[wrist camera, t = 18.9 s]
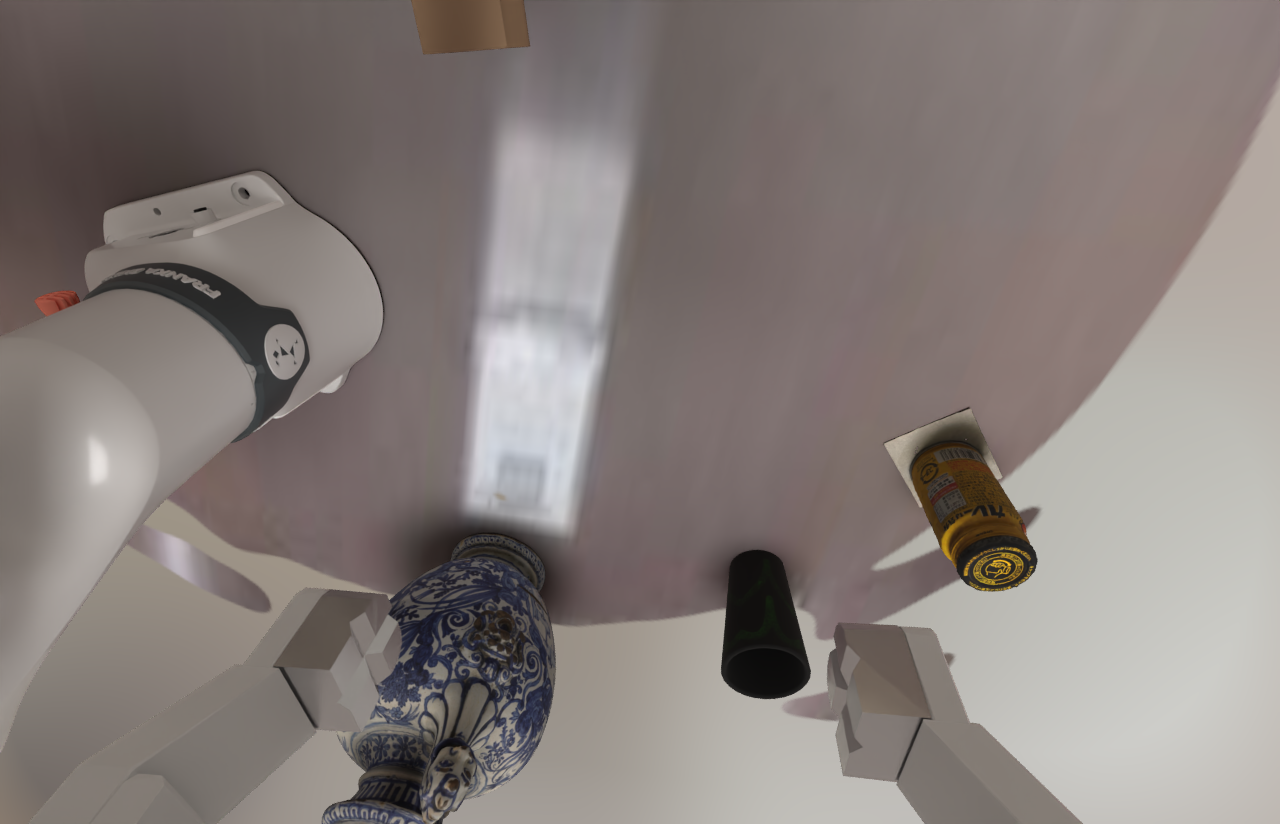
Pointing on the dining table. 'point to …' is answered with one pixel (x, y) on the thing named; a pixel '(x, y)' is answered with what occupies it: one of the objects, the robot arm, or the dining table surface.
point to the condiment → (965, 501)
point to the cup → (762, 630)
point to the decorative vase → (456, 688)
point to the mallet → (470, 25)
